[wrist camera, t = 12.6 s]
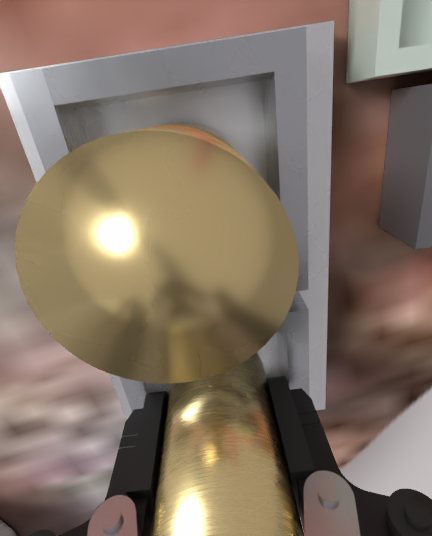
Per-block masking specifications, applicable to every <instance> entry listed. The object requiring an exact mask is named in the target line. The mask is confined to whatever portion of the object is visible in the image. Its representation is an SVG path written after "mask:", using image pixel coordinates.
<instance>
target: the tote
mask: <svg viewBox="0 0 432 536" xmlns="http://www.w3.org/2000/svg"><path fill="white" fill-rule="evenodd" d="M427 71H432V0H349V20H348V45H347V71H346V84H348V83H354V82H361V81H368V80H374V79H381V78H387V77H394V76H400V75H407V74H413V73H420V72H427Z"/></svg>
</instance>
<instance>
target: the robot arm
mask: <svg viewBox="0 0 432 536" xmlns="http://www.w3.org/2000/svg"><path fill="white" fill-rule="evenodd" d="M267 386H268V391H269V395H270V399H271V403H272V407H273V412H274V416H275V420H276V424H277V428H278V433H279V437H280V441H281V445H282V449H283V454H284V458H285V462H286V466H287V470H288V475H289V479H290V483H291V486H292V489H293V491H294V495H295V499H296V503H297V507H298V512H299V516H300V517H301V522H302V526H303V530H304V534H305V536H432V500H431V499H430V498H429V497H428V496H426V495H424V494H423V493H420V492H418V491H415V490H411V489H399V490H397V491H395V492H394V493H392V495H391V496H390V497H389V496H385V495H380V494H376V493H372V492H368V491H364V490H362V489H360V488H358V487H356V486H354V485H353V484H351V483H350V482H349V481H348V480H347V479H346V478H345V477H344V476H343V475H342V474H341V472H340V470H339V468H338V466H337V464H336V461H335V458H334V456H333V453H332V451H331V448H330V445H329V443H328V440H327V438H326V435H325V432H324V430H323V427H322V425H321V422H320V419H319V417H318V414H317V412H316V409H315V406H314V404H313V401H312V399H311V398H310V397H309V395H308V394H307V393H306V392H305V391H304V390H303V389H302V388H300V389H292V390H290V388H289V385H288V381H287V378H286V376H278V377H270V378H267ZM167 401H168V394H167V392H166V391H160V392H152V393H147V394H146V396H145V401H144V406H143V408H141V409H134V410H133V412H132V413H131V415H130V416H129V418H128V419H127V421H126V422H125V426H124V430H123V434H122V438H121V442H120V446H119V450H118V454H117V458H116V461H115V465H114V469H113V473H112V477H111V481H110V485H109V489H108V493H107V496H106V498H105V501H104V502H103V503H102V504H100V506H99V507H98V508H97V509H96V510H95V512H94V513H93V515H92V517H91V519H89V520H88V521H87V522H85V523H84V524H82V525H80V526H78V527H76V528H74V529H72V530H70V531H68V532H66V533H64V534H62V535H60V536H150V535H151V527H152V520H153V512H154V504H155V496H156V488H157V480H158V472H159V465H160V457H161V449H162V441H163V433H164V425H165V417H166V409H167ZM30 536H56V535H55V534H54V533H53V532H51V531H49V530H41V531H38V532H35V533H33V534H31V535H30Z"/></svg>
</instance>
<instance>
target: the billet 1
mask: <svg viewBox="0 0 432 536" xmlns="http://www.w3.org/2000/svg"><path fill="white" fill-rule="evenodd" d="M15 258H16V267H17V272H18V276H19V280H20V284H21V287H22V290H23V292H24V295H25V297H26V299H27V302H28V303H29V305H30V307H31V309H32V310H33V312H34V314H35V316H36V317H37V318H38V320H39V321H40V322H41V324H42V325H43V326H44V328H45V329H46V330H47V331H48V332H49V333H50V334H51V335H52V336H53V338H54V339H55V340H56V341H57V342H59V343H60V344H61V345H62V346H63V347H65V348H66V349H67V350H68V351H69V352H71V353H72V354H74V355H75V356H77V357H78V358H80V359H81V360H83V361H84V362H86V363H88V364H90V365H92V366H94V367H96V368H98V369H100V370H103V371H105V372H107V373H110V374H113V375H116V376H119V377H122V378H126V379H130V380H135V381H140V382H148V383H167V384H173V383H184V382H191V381H196V380H202V379H205V378H209V377H212V376H215V375H218V374H220V373H223V372H225V371H228V370H230V369H232V368H234V367H236V366H237V365H239V364H241V363H243V362H244V361H246V360H247V359H249V358H250V357H251V356H253V355H254V354H256V353H257V352H258V351H259V350H260V349H261V348H262V347H263V346H264V345H266V344H267V342H268V341H269V340H270V339H271V338H272V337H273V336H274V334H275V333H276V332H277V330H278V329H279V327H280V326H281V324H282V323H283V321H284V320H285V318H286V316H287V314H288V312H289V309H290V307H291V305H292V302H293V299H294V296H295V293H296V287H297V282H298V272H299V257H298V248H297V242H296V238H295V234H294V231H293V227H292V224H291V222H290V220H289V217H288V215H287V213H286V210H285V209H284V207H283V205H282V204H281V202H280V201H279V199H278V197H277V196H276V194H275V193H274V192H273V190H272V189H271V188H270V187H269V185H268V184H267V183H266V182H265V181H264V179H263V178H262V177H261V176H260V175H259V174H258V173H257V172H256V171H255V170H254V169H253V168H252V167H251V166H250V164H249V163H248V162H247V161H246V160H245V159H244V158H243V157H242V156H241V155H240V154H239V153H238V152H237V151H236V150H235V149H234V147H233V146H232V145H231V144H230V143H229V142H228V141H227V140H226V139H225V138H224V137H223V136H221V135H220V134H219V133H217V132H216V131H214V130H212V129H210V128H208V127H206V126H203V125H201V124H196V123H191V122H178V123H171V124H165V125H160V126H154V127H149V128H143V129H138V130H132V131H127V132H121V133H117V134H113V135H109V136H105V137H101V138H98V139H96V140H94V141H91V142H89V143H86V144H84V145H82V146H80V147H78V148H76V149H75V150H73V151H71V152H70V153H68V154H67V155H65V156H63V157H62V158H61V159H60V160H59V161H57V162H56V163H55V164H54V165H53V166H52V167H50V168H49V169H48V170H47V171H46V173H45V174H44V175H43V176H42V177H41V178H40V180H39V181H38V182H37V183H36V184H35V186H34V188H33V189H32V191H31V193H30V195H29V196H28V198H27V200H26V202H25V204H24V207H23V209H22V212H21V215H20V217H19V222H18V226H17V231H16V240H15Z"/></svg>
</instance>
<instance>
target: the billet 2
mask: <svg viewBox="0 0 432 536" xmlns="http://www.w3.org/2000/svg"><path fill="white" fill-rule="evenodd" d="M150 536H304V532H303V528H302V524H301V520H300V516H299V512H298V507H297V503H296V499H295V495H294V491H293V489H292V486H291V483H290V479H289V475H288V470H287V466H286V462H285V458H284V454H283V449H282V445H281V441H280V437H279V433H278V428H277V424H276V420H275V416H274V412H273V407H272V403H271V399H270V395H269V391H268V386H267V379H266V375H265V371H264V367H263V363H262V360H261V358H260V356H259V355H258V354H257V353H256V354H254V355H253V356H251V357H250V358H249V359H247V360H246V361H244V362H243V363H241V364H239V365H237V366H236V367H234V368H232V369H230V370H228V371H225V372H223V373H220V374H218V375H215V376H212V377H209V378H205V379H202V380H196V381H191V382H184V383H173V384H170V385H169V393H168V401H167V409H166V417H165V425H164V433H163V441H162V449H161V457H160V465H159V472H158V480H157V488H156V496H155V504H154V512H153V520H152V527H151V535H150Z"/></svg>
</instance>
